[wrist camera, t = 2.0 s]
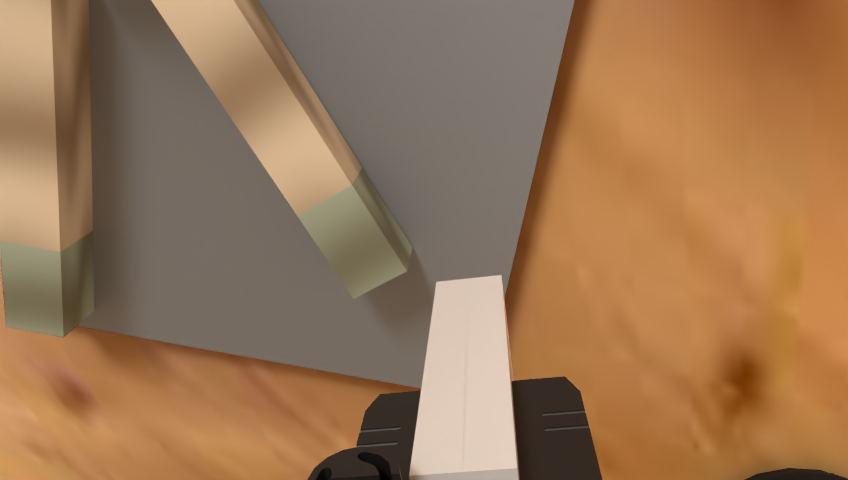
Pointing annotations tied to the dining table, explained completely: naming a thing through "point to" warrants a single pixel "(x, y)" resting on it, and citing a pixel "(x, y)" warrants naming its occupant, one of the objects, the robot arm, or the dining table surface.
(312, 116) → the bar
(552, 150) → the dining table surface
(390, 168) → the board
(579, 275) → the dining table surface
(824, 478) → the coffee jar
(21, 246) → the tongs base
